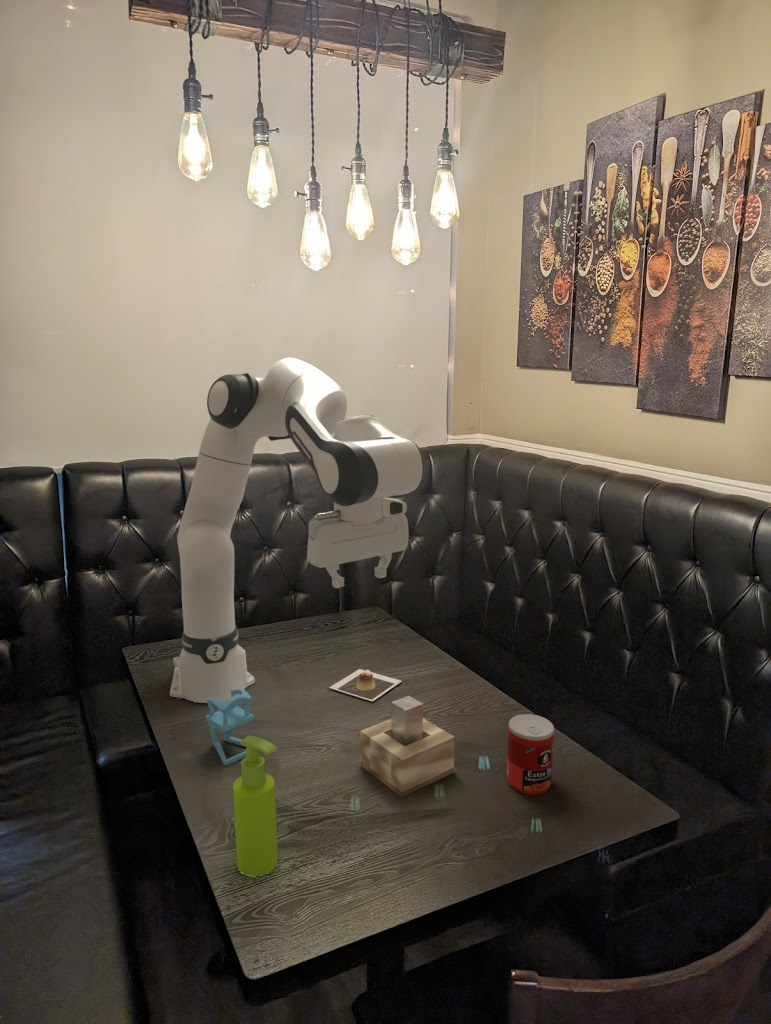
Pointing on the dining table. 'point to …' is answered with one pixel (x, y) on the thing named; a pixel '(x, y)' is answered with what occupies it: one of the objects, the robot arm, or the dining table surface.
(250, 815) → the soap dispenser
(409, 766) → the frame
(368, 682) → the dessert
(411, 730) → the grey square peg
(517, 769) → the canned food
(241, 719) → the chair
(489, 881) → the dining table surface
